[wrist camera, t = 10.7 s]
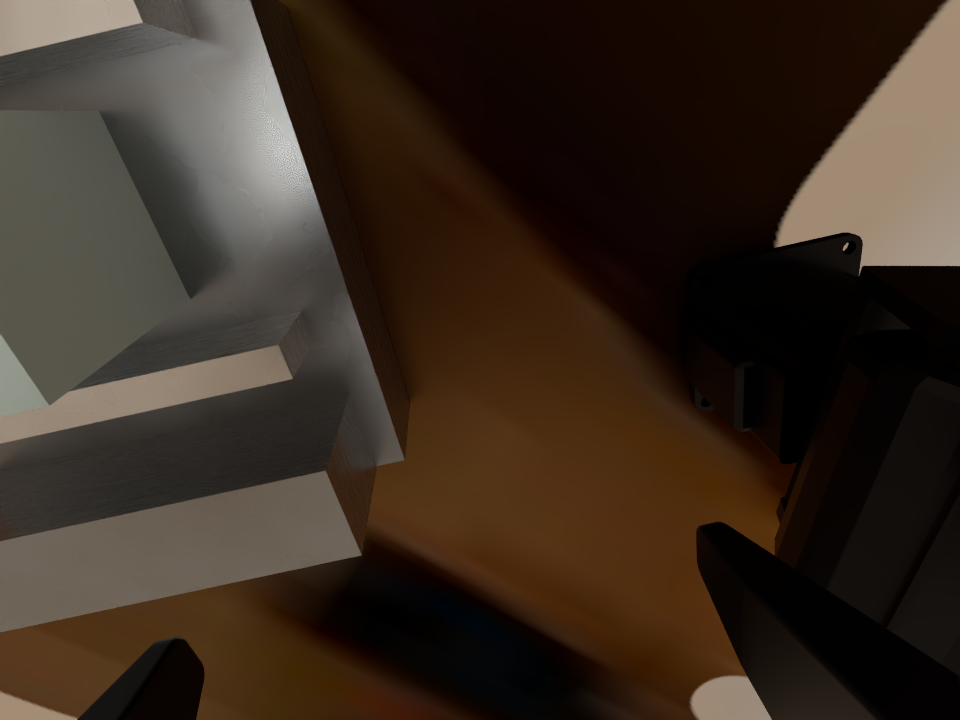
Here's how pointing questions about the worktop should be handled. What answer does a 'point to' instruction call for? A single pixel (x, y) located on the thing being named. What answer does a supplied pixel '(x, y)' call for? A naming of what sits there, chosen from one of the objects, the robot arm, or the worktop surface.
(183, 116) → the base
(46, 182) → the block
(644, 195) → the worktop surface
